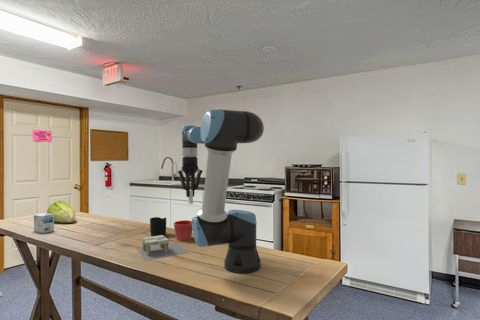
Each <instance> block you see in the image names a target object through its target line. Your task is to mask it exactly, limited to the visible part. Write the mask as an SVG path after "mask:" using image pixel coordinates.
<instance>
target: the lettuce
mask: <svg viewBox="0 0 480 320" xmlns="http://www.w3.org/2000/svg"><path fill="white" fill-rule="evenodd" d="M46 211H47V212H46V214H54V223H58V222H59V224H60V223H61V224H62V223H63V224H65V223H72V222H74V221H75V220H76V211H75V210H74V208H73V206H71V204H69V203H67V202H66V201H62V200H58V201H55V202H52V204H50V205H49V207H48V208H47V210H46Z"/></svg>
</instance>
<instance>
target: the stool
mask: <svg viewBox="0 0 480 320" xmlns="http://www.w3.org/2000/svg"><path fill="white" fill-rule="evenodd" d="M168 244H169V239H168V238H167V237H166V235H165V236H163V235H160V236H145V237H142V248H143V251H145V250H146V255H147V256H148V255H150V246H157V245H160V248H164V252H165V253H167V252H168Z"/></svg>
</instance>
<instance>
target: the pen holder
mask: <svg viewBox="0 0 480 320" xmlns="http://www.w3.org/2000/svg"><path fill="white" fill-rule="evenodd" d="M149 228H150V229H149V230H150V237H152V236H160V235H163V236H165V237H166V234H167V217H163V218H162V217H159V216H158V217H157V216H154V217H150V218H149Z"/></svg>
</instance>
